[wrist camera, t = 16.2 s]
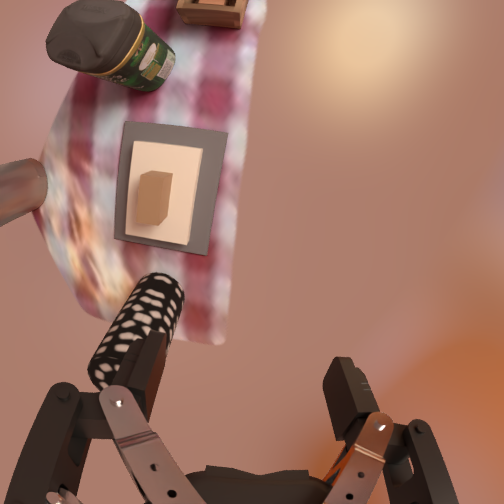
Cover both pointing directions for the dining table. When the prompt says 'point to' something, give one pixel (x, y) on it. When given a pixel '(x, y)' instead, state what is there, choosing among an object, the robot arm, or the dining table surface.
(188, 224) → the lid
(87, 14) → the coffee jar
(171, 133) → the mat
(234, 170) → the dining table surface
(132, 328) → the spotted tube
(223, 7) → the tea box
